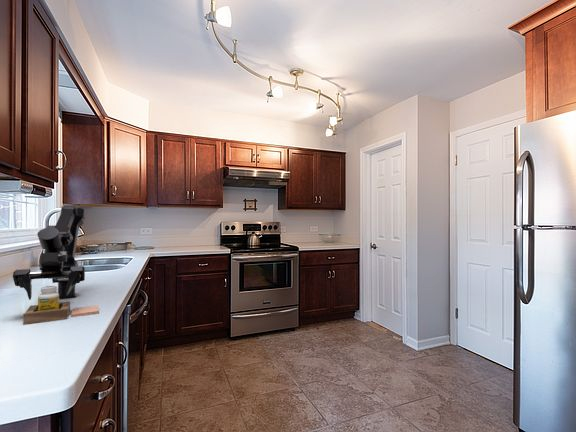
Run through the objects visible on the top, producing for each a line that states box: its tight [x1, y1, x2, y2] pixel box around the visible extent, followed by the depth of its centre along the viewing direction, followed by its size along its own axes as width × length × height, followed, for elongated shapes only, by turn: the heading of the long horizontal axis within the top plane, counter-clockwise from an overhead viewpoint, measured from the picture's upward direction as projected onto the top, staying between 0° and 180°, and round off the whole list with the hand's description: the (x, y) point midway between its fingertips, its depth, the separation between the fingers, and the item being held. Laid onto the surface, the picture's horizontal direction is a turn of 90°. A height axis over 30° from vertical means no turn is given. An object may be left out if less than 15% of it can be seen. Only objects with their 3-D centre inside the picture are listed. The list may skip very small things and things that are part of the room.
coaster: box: [70, 305, 100, 318], centre depth 104 cm, size 8×8×1 cm
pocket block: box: [22, 301, 71, 326], centre depth 98 cm, size 11×11×3 cm
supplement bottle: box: [37, 285, 60, 311], centre depth 98 cm, size 5×5×10 cm
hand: (48, 297), depth 97 cm, fingers open, 9 cm apart
